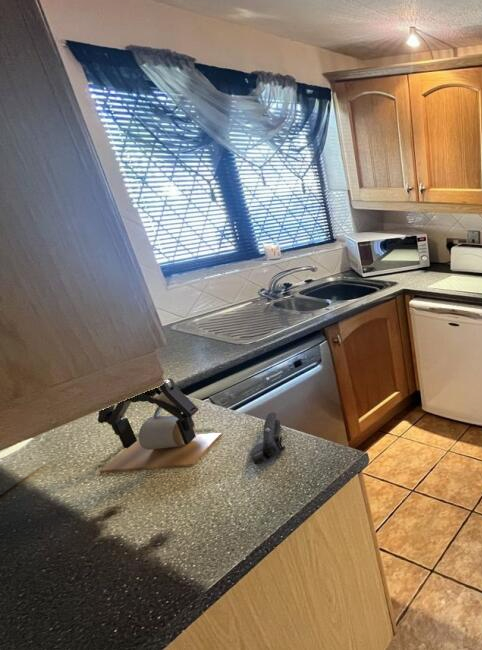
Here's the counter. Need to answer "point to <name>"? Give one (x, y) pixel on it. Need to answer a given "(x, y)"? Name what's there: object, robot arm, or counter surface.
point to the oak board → (162, 455)
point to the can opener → (269, 440)
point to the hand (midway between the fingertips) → (160, 442)
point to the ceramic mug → (160, 432)
